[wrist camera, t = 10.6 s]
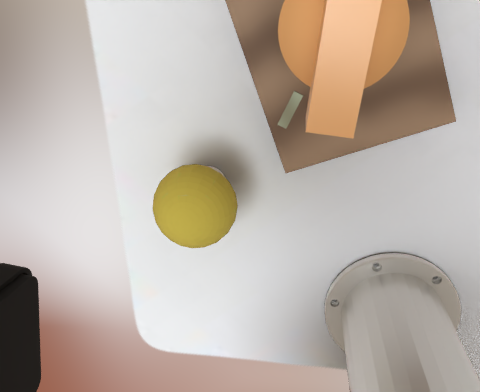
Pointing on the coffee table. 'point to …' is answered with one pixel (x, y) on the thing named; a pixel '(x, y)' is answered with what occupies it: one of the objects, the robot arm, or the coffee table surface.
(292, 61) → the orange bar knob
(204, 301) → the coffee table surface
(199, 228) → the light bulb
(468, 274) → the coffee table surface
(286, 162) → the post board
